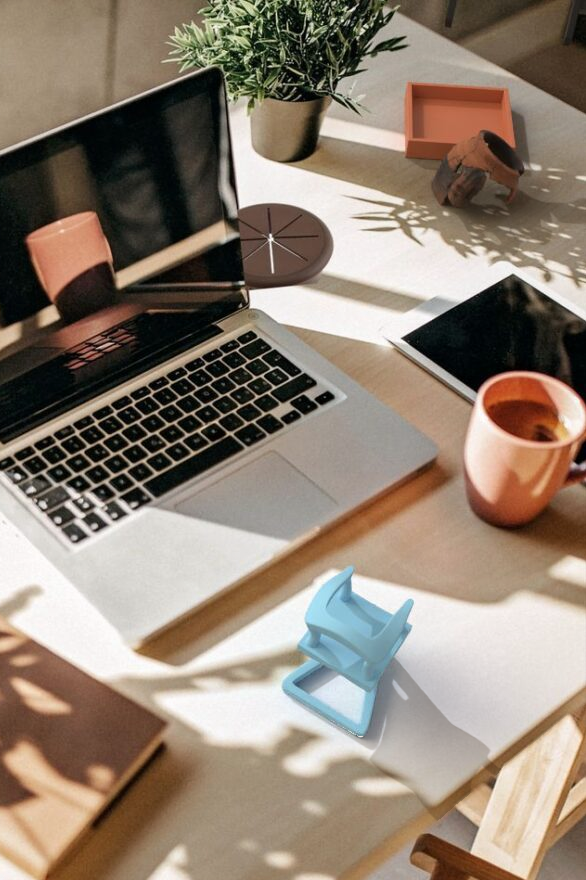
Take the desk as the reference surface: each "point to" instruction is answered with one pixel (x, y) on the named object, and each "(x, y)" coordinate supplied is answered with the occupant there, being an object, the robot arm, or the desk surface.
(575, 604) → the desk surface
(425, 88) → the terracotta tray
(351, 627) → the chair
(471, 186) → the broken clay pot
